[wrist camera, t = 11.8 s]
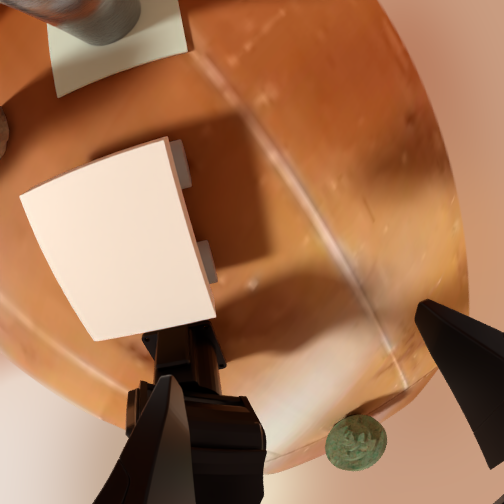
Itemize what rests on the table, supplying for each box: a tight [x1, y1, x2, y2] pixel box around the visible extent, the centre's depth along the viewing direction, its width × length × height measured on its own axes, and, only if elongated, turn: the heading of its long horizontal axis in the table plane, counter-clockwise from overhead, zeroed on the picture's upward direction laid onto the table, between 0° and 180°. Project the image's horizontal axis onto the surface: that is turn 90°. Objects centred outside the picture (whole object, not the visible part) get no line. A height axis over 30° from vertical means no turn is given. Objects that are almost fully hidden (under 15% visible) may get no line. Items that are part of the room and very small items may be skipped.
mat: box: [47, 0, 188, 98], centre depth 12 cm, size 9×9×1 cm
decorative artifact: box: [325, 415, 387, 471], centre depth 36 cm, size 10×7×10 cm
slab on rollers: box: [20, 136, 218, 341], centre depth 17 cm, size 11×10×5 cm
